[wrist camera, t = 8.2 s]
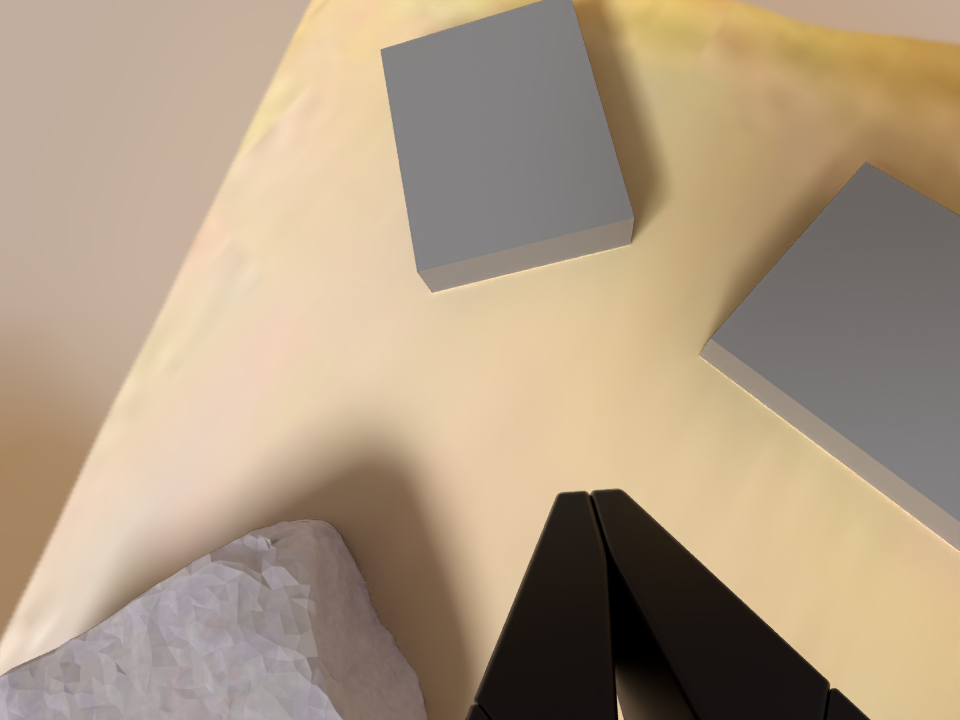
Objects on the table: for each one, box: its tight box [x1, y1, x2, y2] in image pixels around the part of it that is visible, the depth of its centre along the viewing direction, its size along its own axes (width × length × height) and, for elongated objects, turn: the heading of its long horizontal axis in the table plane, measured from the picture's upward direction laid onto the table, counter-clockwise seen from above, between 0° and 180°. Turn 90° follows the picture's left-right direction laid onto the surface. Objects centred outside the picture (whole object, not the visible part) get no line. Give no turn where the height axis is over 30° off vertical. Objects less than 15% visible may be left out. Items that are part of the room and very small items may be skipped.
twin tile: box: [699, 162, 960, 552], centre depth 17 cm, size 9×7×2 cm
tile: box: [381, 0, 635, 294], centre depth 21 cm, size 2×7×9 cm
